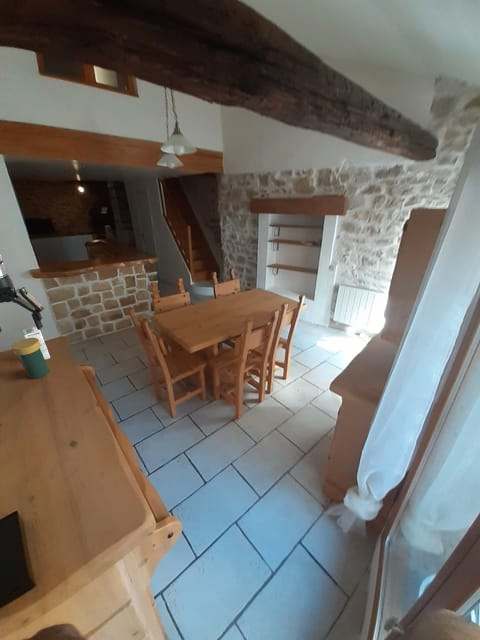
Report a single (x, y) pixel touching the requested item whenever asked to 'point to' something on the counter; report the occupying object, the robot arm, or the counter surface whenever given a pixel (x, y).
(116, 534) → the counter surface
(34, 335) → the syrup box
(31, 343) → the lid
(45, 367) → the green upright cylinder
